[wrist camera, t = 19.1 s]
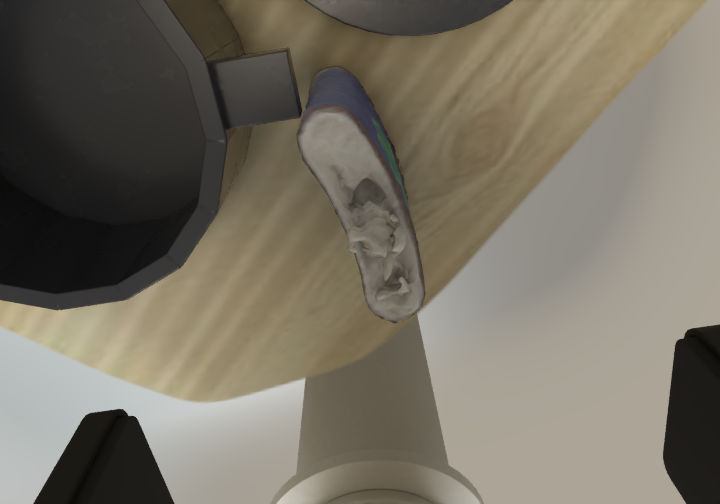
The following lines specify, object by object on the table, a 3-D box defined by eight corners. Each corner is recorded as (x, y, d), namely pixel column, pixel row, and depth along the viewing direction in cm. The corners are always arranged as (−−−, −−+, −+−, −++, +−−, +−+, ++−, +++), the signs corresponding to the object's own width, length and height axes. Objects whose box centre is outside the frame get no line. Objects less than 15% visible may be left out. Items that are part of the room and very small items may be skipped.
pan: (333, 202, 30) (329, 270, 23) (-31, 259, 31) (-136, 340, 24) (270, -126, 23) (240, -163, 17) (-189, -40, 24) (-391, -43, 18)
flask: (301, 76, 27) (278, 137, 17) (358, 53, 27) (368, 101, 17) (370, 240, 31) (383, 362, 21) (421, 221, 30) (458, 337, 21)
